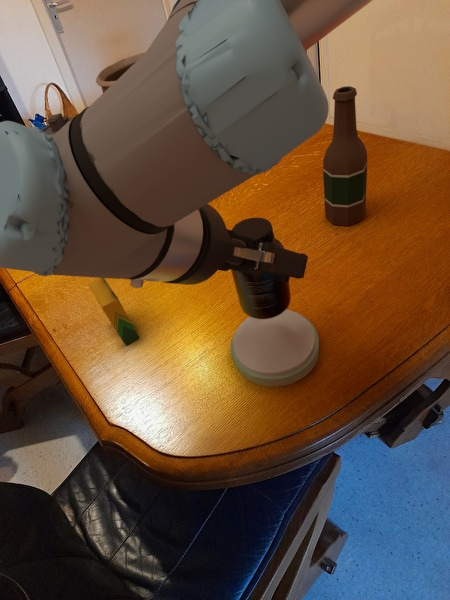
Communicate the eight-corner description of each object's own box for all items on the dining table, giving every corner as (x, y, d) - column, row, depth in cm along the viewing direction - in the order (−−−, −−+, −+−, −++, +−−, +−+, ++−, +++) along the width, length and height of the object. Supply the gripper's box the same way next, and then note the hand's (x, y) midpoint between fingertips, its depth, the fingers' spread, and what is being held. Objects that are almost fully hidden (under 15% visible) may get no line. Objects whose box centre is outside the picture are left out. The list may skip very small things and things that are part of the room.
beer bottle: (317, 219, 82) (309, 96, 66) (341, 201, 85) (339, 78, 68) (349, 232, 77) (350, 101, 61) (373, 211, 80) (380, 82, 63)
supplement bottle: (300, 292, 54) (292, 217, 46) (275, 328, 51) (262, 253, 42) (256, 279, 58) (242, 207, 50) (230, 312, 54) (210, 240, 46)
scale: (325, 322, 63) (325, 310, 61) (311, 394, 55) (309, 382, 53) (246, 314, 68) (243, 302, 66) (222, 379, 59) (217, 368, 57)
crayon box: (111, 323, 73) (82, 275, 65) (125, 314, 74) (98, 266, 66) (125, 347, 68) (95, 298, 60) (140, 338, 69) (113, 289, 61)
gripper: (78, 262, 38) (205, 277, 58) (268, 307, 29) (340, 306, 49) (91, 183, 38) (214, 225, 58) (289, 203, 28) (353, 245, 49)
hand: (272, 263), depth 53 cm, fingers closed on supplement bottle, 7 cm apart
